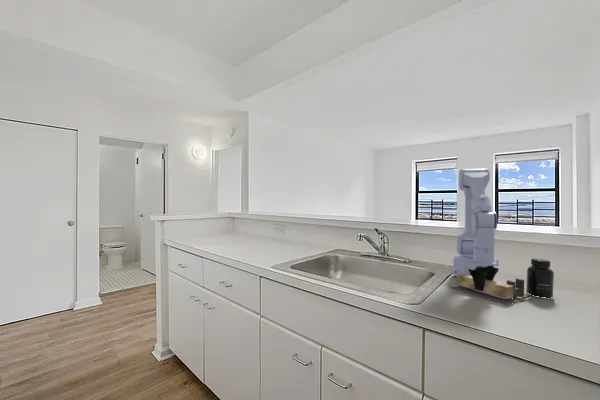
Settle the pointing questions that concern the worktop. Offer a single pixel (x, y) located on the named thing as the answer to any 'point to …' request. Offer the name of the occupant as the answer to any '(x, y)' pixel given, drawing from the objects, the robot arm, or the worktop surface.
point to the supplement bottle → (540, 278)
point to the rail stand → (518, 289)
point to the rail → (487, 286)
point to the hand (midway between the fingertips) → (482, 289)
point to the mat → (485, 295)
